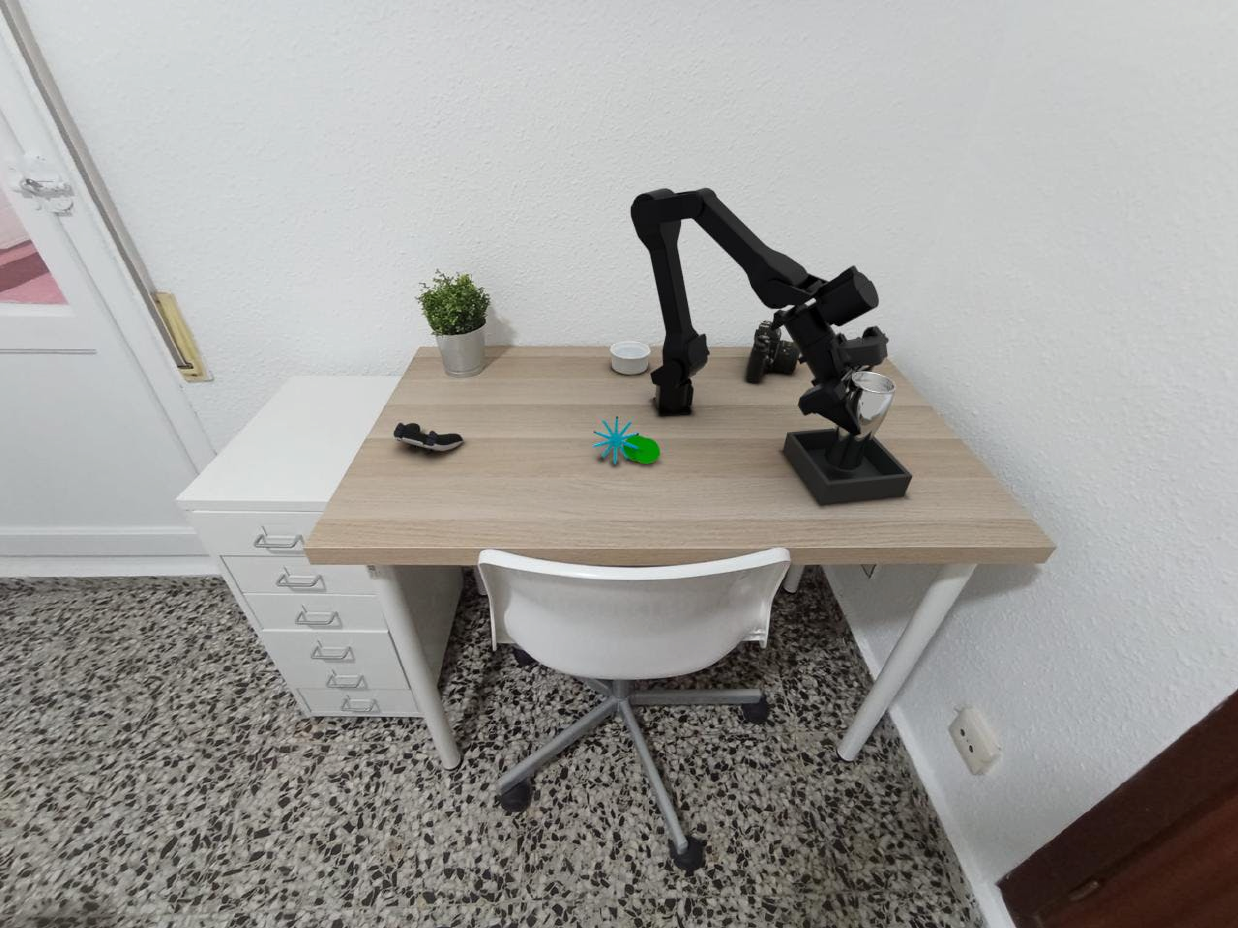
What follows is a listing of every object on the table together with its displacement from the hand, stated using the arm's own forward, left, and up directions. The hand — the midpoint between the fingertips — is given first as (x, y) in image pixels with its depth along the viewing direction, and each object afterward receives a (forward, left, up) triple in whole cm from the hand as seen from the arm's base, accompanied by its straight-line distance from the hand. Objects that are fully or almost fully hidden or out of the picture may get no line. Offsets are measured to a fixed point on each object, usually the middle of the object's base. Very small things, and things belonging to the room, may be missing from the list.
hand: (865, 425), depth 86 cm
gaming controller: (-70, +19, -10) cm, 73 cm away
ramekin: (-29, +44, -10) cm, 54 cm away
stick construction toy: (-36, +12, -10) cm, 39 cm away
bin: (-1, +1, -10) cm, 10 cm away
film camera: (+2, +39, -10) cm, 40 cm away
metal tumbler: (-1, +1, -8) cm, 8 cm away
